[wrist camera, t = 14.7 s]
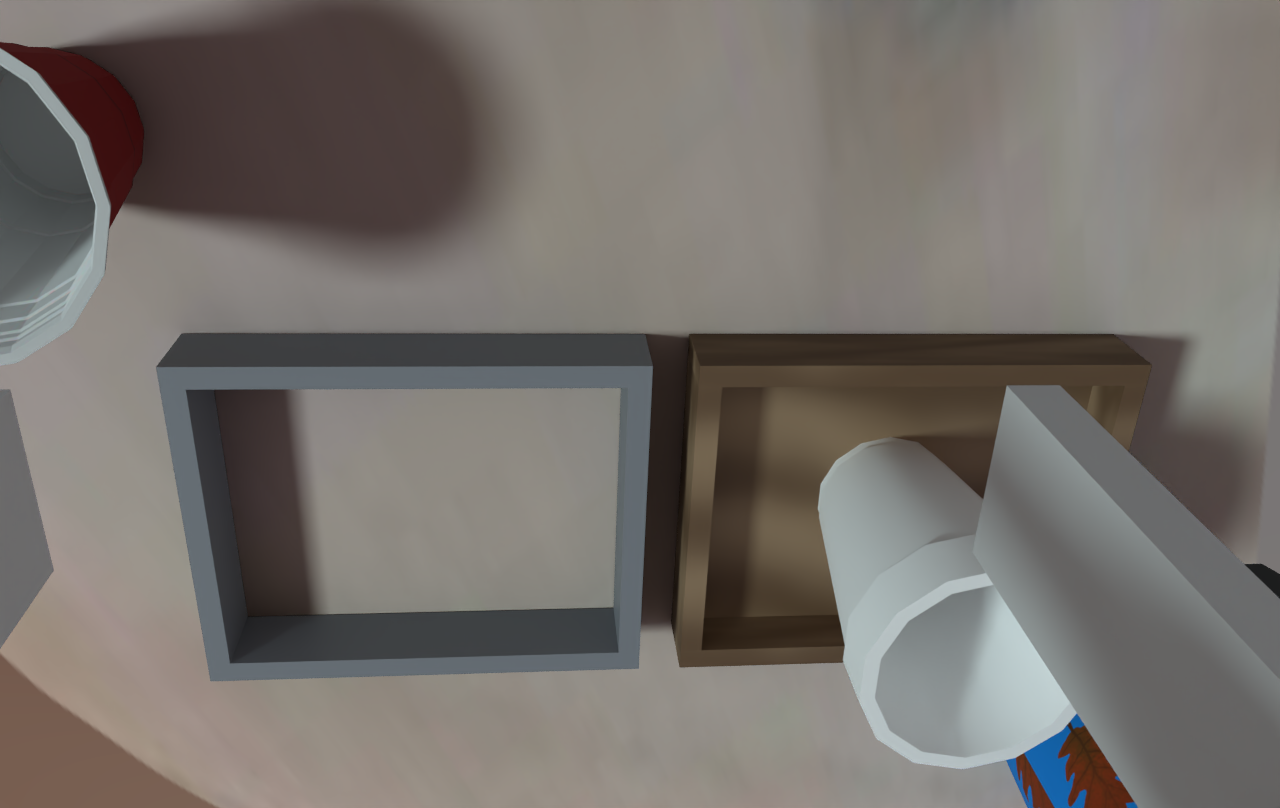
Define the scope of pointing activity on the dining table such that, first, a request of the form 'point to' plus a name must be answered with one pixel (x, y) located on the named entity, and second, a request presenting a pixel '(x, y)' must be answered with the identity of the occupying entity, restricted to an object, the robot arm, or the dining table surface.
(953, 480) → the foam cup
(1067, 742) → the thermos
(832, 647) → the bin
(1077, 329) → the dining table surface
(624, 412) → the bin
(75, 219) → the plastic cup
